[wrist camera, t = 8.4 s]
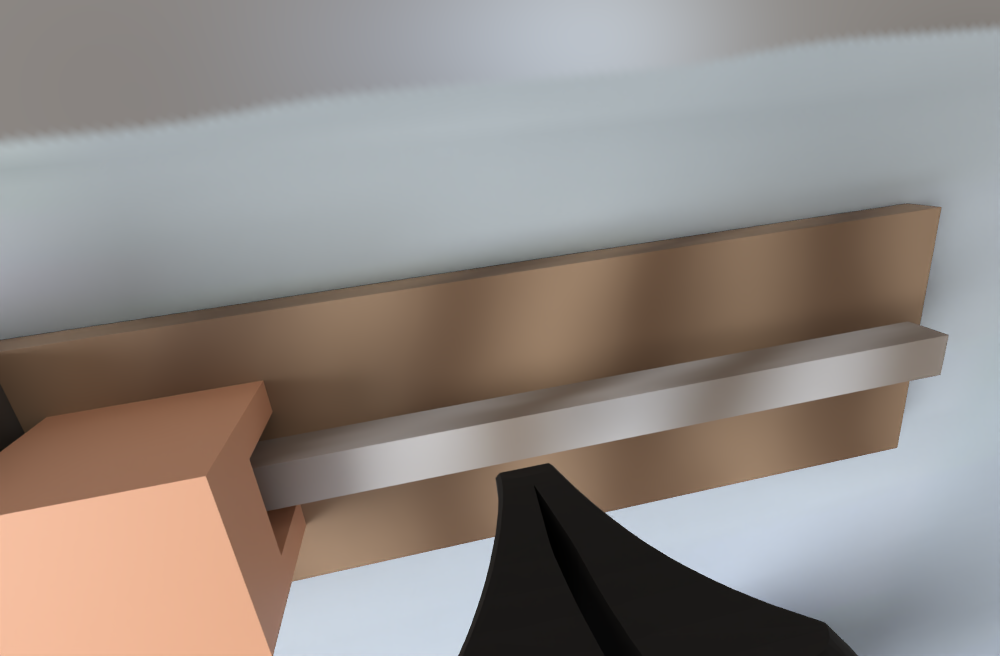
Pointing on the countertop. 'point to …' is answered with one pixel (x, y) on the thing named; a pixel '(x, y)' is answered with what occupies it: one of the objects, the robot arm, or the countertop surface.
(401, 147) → the countertop surface
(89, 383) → the rail board
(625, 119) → the countertop surface
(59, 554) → the slider block
